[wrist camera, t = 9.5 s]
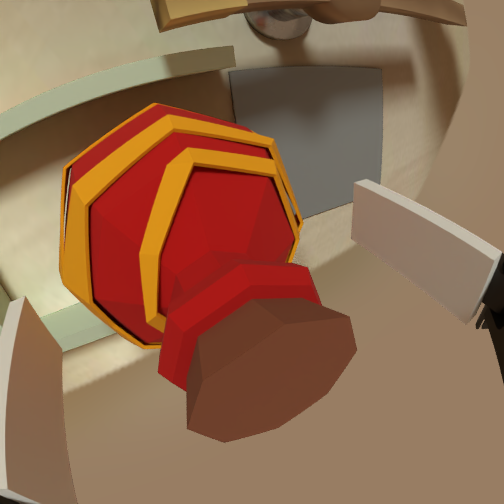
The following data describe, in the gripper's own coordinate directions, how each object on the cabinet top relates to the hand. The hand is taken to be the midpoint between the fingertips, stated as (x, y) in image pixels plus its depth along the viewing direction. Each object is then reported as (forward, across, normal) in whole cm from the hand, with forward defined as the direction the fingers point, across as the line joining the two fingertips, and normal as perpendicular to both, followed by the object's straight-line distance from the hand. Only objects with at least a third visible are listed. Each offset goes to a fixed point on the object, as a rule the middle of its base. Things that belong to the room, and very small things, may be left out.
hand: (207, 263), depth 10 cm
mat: (+10, +12, 0) cm, 16 cm away
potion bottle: (+10, -1, 0) cm, 10 cm away
